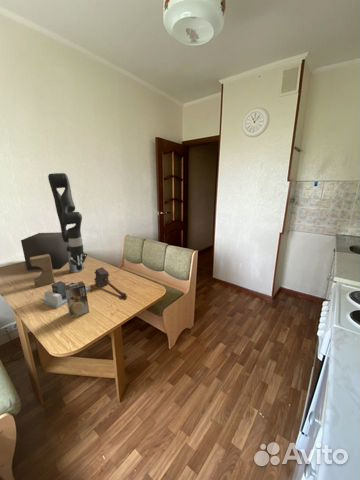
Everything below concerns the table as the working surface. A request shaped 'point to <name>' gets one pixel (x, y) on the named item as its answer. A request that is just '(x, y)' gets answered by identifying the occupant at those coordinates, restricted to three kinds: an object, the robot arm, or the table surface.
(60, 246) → the dark grey angular block
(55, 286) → the steel block
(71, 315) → the coffee box
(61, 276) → the table surface
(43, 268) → the decorative block
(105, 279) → the hammer
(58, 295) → the vise base
